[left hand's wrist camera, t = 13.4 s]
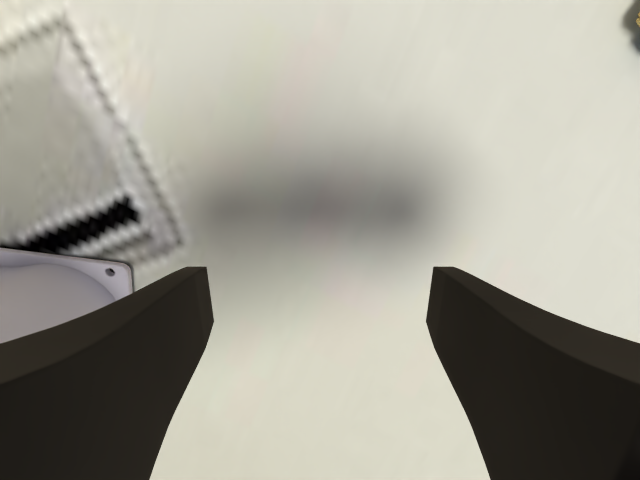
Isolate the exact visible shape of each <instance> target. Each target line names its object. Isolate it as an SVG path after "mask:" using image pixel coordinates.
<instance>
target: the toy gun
mask: <svg viewBox="0 0 640 480" xmlns="http://www.w3.org/2000/svg"><path fill="white" fill-rule="evenodd" d="M638 16H639V17H638V18H637V20H636V23H637V24H638V25H639V27H640V12H639V13H638Z"/></svg>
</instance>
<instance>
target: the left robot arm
mask: <svg viewBox="0 0 640 480" xmlns="http://www.w3.org/2000/svg"><path fill="white" fill-rule="evenodd" d="M109 268H111V269H113V270H114V272H115V273H112V272H111V271H110V269H109ZM213 323H214V318H213V311H212V304H211V297H210V289H209V282H208V275H207V267H185V268H182V269H180V270H178V271H175V272H173V273H171V274H169V275H167V276H165V277H163V278H161V279H159V280H157V281H155V282H153V283H151V284H149V285H148V286H146V287H144V288H142V289H140V290H138V291H136V292H134V293H133V290H132V277H131V269H130V268H129V266H128V265H126V264H124V263H119V262H111V261H103V260H95V259H87V258H79V257H71V256H63V255H55V254H47V253H39V252H31V251H23V250H15V249H7V248H0V480H149V479H150V476H151V473H152V470H153V467H154V464H155V461H156V458H157V456H158V453H159V450H160V448H161V445H162V442H163V439H164V437H165V434H166V431H167V428H168V426H169V424H170V421H171V419H172V417H173V415H174V412H175V410H176V408H177V406H178V404H179V402H180V400H181V398H182V396H183V394H184V392H185V390H186V388H187V386H188V384H189V381H190V379H191V377H192V375H193V373H194V371H195V369H196V367H197V365H198V363H199V361H200V359H201V357H202V355H203V352H204V350H205V348H206V345H207V342H208V339H209V336H210V333H211V329H212V326H213ZM426 323H427V326H428V329H429V333H430V336H431V339H432V342H433V345H434V348H435V350H436V352H437V355H438V357H439V359H440V361H441V363H442V365H443V367H444V369H445V371H446V373H447V375H448V377H449V380H450V382H451V384H452V386H453V388H454V390H455V392H456V394H457V396H458V398H459V400H460V402H461V404H462V406H463V408H464V410H465V412H466V415H467V417H468V419H469V421H470V424H471V426H472V429H473V431H474V434H475V437H476V440H477V442H478V445H479V448H480V450H481V453H482V456H483V459H484V461H485V464H486V467H487V470H488V473H489V476H490V479H491V480H640V343H637V342H633V341H630V340H627V339H623V338H620V337H617V336H614V335H610V334H607V333H604V332H601V331H598V330H595V329H592V328H589V327H586V326H584V325H581V324H578V323H576V322H573V321H570V320H568V319H565V318H562V317H560V316H557V315H555V314H552V313H550V312H547V311H545V310H543V309H541V308H538V307H536V306H534V305H532V304H530V303H527V302H525V301H523V300H521V299H519V298H517V297H515V296H512V295H510V294H508V293H506V292H504V291H502V290H500V289H498V288H497V287H495V286H493V285H491V284H489V283H487V282H485V281H483V280H481V279H479V278H477V277H475V276H473V275H471V274H469V273H467V272H465V271H463V270H460V269H458V268H455V267H433V274H432V282H431V289H430V296H429V304H428V311H427V318H426Z"/></svg>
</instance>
